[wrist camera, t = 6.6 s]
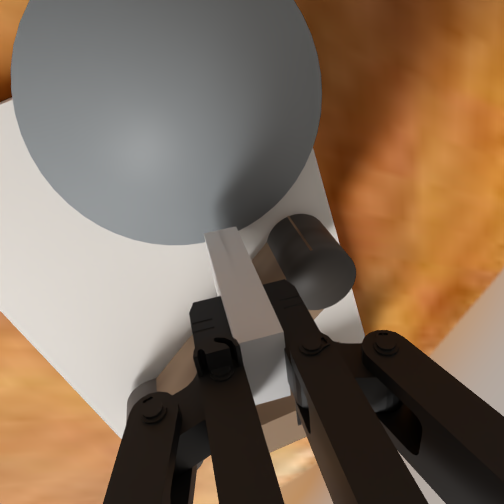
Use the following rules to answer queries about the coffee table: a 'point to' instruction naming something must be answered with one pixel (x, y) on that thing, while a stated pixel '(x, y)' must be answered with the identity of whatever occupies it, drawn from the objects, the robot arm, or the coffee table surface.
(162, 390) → the leg
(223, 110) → the stand board
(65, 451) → the coffee table surface
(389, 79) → the coffee table surface
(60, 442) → the coffee table surface
